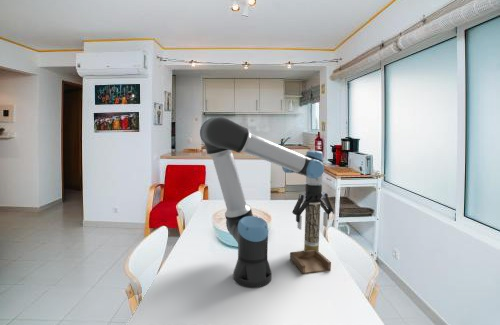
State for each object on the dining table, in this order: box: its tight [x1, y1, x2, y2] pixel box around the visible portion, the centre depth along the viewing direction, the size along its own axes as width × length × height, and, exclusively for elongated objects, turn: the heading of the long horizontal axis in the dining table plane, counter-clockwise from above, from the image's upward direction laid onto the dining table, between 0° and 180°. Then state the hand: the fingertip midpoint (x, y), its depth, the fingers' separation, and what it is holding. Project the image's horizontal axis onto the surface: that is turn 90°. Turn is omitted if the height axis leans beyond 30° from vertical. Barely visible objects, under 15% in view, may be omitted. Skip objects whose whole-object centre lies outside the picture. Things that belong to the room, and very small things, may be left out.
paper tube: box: [303, 201, 321, 252], centre depth 136 cm, size 7×7×25 cm
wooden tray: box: [289, 250, 332, 275], centre depth 124 cm, size 13×13×4 cm
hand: (312, 227), depth 136 cm, fingers open, 13 cm apart
